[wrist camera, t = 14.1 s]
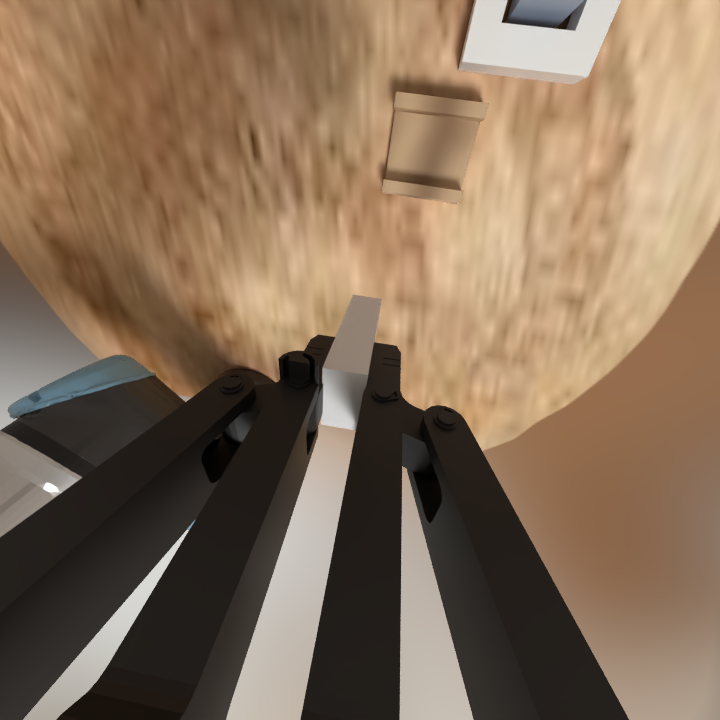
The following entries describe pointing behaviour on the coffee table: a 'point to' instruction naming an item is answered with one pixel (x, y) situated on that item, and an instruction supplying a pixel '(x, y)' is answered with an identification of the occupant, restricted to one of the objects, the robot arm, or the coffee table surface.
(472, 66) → the port
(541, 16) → the plug
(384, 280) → the coffee table surface
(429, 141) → the wooden rail base
